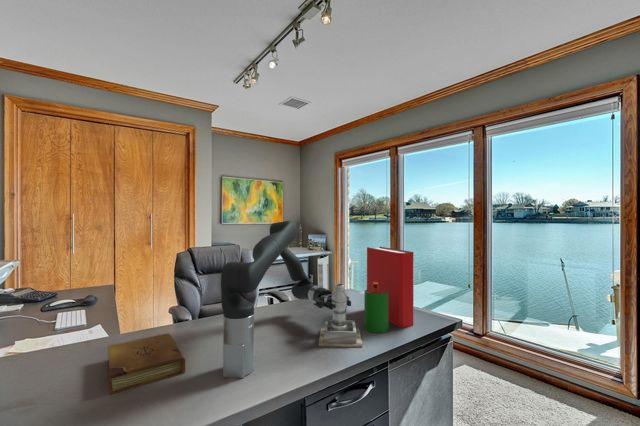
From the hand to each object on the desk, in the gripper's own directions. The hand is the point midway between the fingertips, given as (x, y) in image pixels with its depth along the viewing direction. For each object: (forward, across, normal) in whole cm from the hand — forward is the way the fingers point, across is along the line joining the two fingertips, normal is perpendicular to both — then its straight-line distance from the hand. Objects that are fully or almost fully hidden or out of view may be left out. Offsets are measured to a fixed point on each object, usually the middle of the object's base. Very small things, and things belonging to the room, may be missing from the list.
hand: (341, 305), depth 118 cm
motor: (-1, +19, +13) cm, 23 cm away
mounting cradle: (-1, 0, +13) cm, 13 cm away
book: (-10, +35, +13) cm, 38 cm away
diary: (-14, -66, +14) cm, 69 cm away
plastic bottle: (-1, 0, +12) cm, 12 cm away
